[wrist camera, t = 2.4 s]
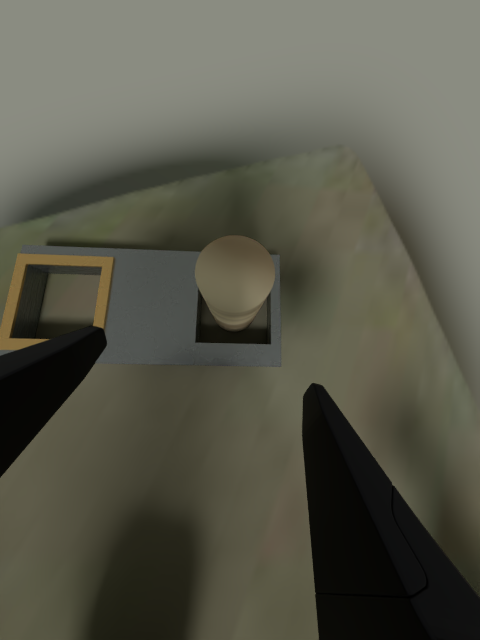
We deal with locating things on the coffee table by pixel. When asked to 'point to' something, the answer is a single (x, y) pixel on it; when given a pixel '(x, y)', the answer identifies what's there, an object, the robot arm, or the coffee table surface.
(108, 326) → the board with square holes
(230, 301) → the peg
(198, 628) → the coffee table surface
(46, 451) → the coffee table surface
